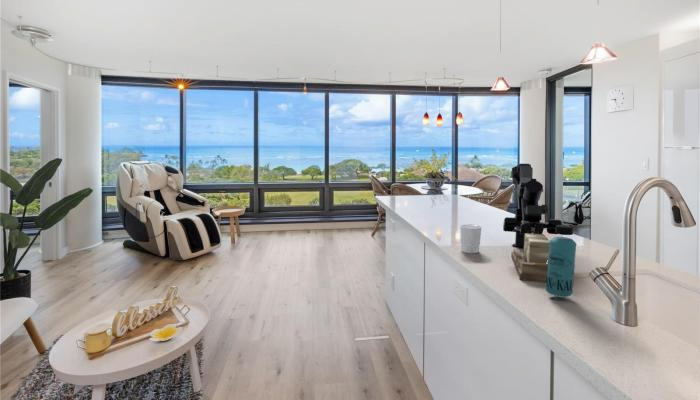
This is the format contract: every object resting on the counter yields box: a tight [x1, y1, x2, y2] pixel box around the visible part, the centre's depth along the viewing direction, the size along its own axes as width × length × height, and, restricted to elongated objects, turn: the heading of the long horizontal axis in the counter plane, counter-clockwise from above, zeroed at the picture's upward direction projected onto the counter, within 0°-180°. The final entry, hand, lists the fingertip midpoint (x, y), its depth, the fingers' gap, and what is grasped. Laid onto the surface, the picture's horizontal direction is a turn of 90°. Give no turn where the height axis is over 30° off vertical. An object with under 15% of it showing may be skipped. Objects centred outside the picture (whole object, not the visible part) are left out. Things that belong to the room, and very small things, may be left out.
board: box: [510, 248, 548, 283], centre depth 127 cm, size 26×12×5 cm, turn 162°
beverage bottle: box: [545, 224, 577, 298], centre depth 101 cm, size 6×7×20 cm
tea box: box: [522, 233, 550, 263], centre depth 125 cm, size 13×6×9 cm, turn 162°
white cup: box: [459, 224, 482, 254], centre depth 149 cm, size 8×8×10 cm
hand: (533, 245), depth 131 cm, fingers closed, pressing on tea box
